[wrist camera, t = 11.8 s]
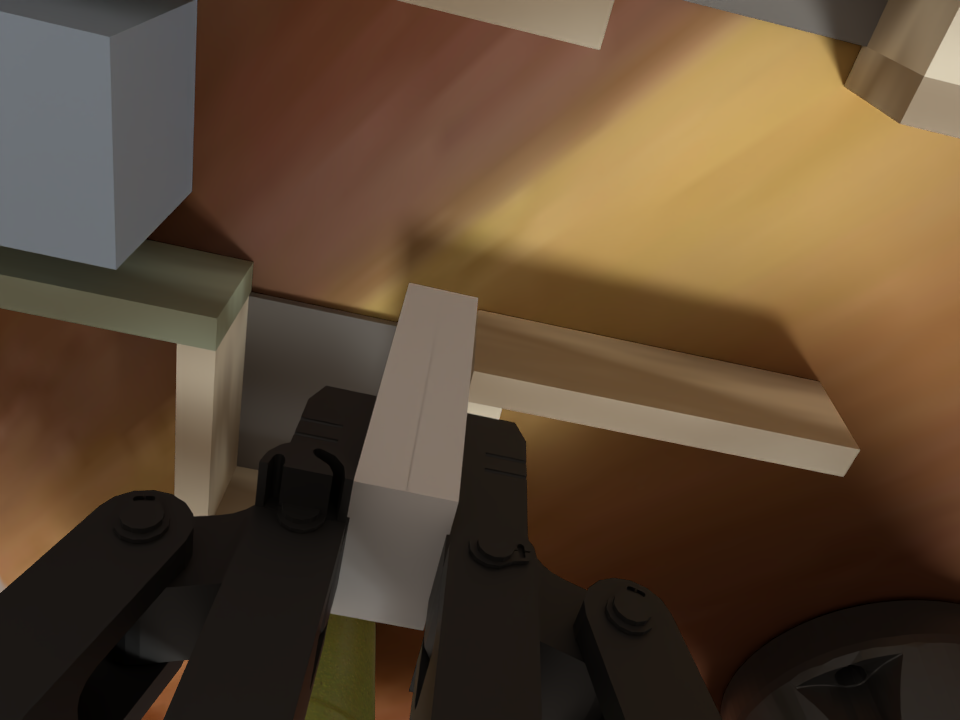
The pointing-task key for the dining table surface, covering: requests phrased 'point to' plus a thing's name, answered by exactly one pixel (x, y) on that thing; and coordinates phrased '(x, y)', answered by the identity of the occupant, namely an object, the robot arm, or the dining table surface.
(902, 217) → the dining table surface
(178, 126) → the block
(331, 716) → the plant pot
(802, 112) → the dining table surface
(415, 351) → the robot arm
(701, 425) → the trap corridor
